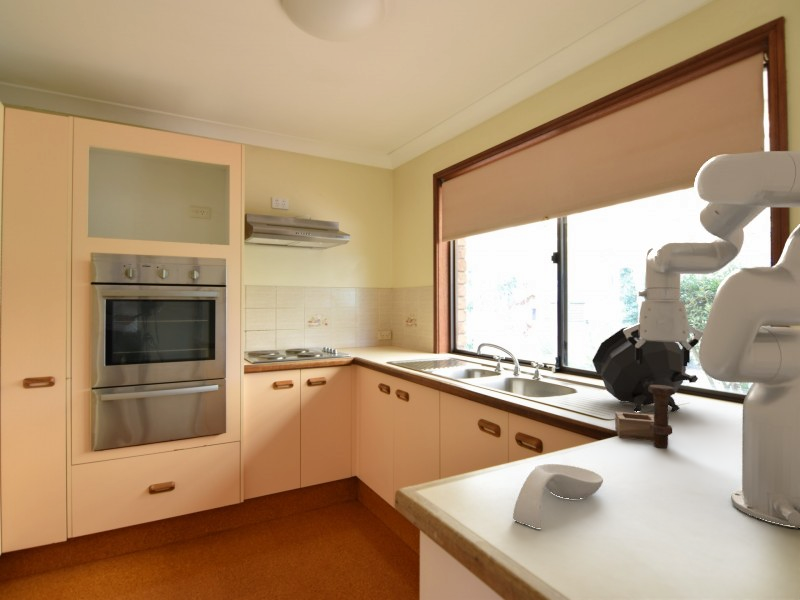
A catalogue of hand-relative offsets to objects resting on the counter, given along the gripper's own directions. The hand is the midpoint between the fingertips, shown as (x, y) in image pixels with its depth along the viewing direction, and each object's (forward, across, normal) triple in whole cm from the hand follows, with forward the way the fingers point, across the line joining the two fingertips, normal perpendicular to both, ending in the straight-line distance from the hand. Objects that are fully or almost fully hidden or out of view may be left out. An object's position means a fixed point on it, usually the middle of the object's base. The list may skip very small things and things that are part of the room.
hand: (661, 364), depth 112 cm
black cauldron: (+21, +4, +46) cm, 51 cm away
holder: (+20, -4, +9) cm, 23 cm away
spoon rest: (+21, -24, -42) cm, 53 cm away
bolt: (+21, 0, 0) cm, 21 cm away
